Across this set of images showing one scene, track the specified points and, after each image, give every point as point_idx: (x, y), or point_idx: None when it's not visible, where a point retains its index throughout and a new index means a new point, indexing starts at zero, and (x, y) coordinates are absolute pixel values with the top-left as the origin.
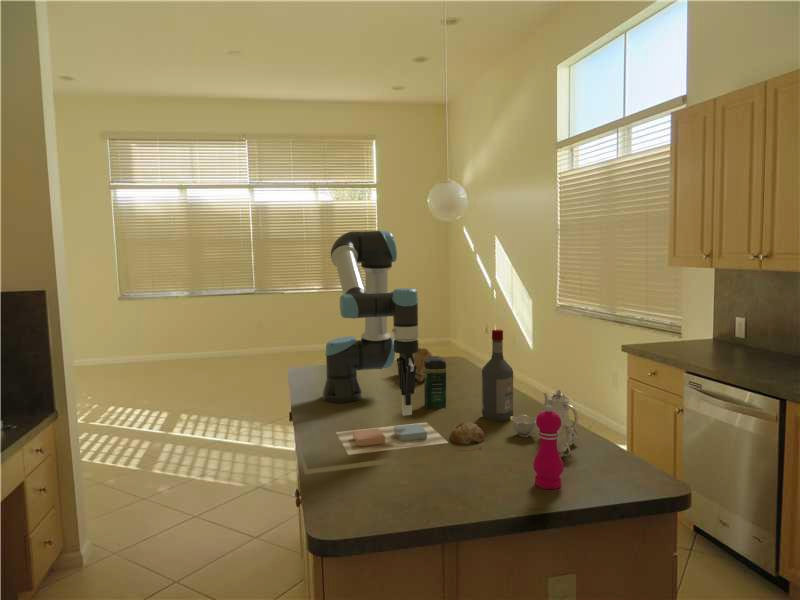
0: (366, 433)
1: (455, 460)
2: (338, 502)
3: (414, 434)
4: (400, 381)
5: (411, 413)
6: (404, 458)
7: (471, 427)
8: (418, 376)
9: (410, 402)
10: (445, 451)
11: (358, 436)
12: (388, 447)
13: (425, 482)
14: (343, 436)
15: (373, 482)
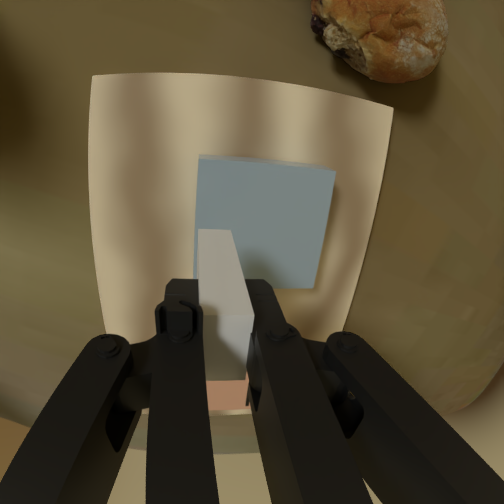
0: (236, 386)
1: (468, 158)
2: (440, 398)
3: (323, 230)
4: (120, 462)
5: (231, 236)
6: (389, 284)
7: (445, 19)
8: None
9: (273, 295)
10: (413, 143)
11: None
12: (325, 322)
13: (491, 277)
14: None
15: (434, 360)
